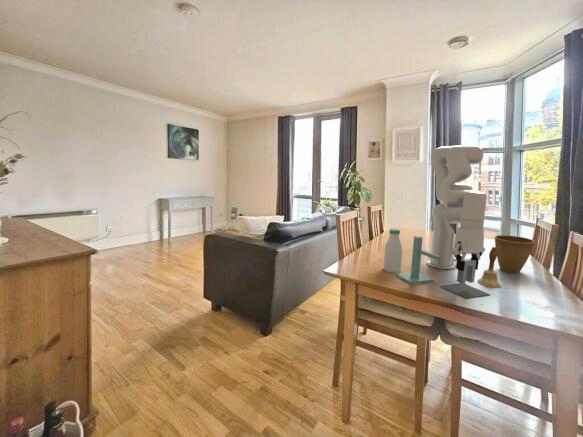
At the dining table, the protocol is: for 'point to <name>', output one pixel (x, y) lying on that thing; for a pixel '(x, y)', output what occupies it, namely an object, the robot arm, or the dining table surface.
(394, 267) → the milk bottle
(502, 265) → the plant pot
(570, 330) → the dining table surface
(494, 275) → the hand bell
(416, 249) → the stand
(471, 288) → the mat
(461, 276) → the link
